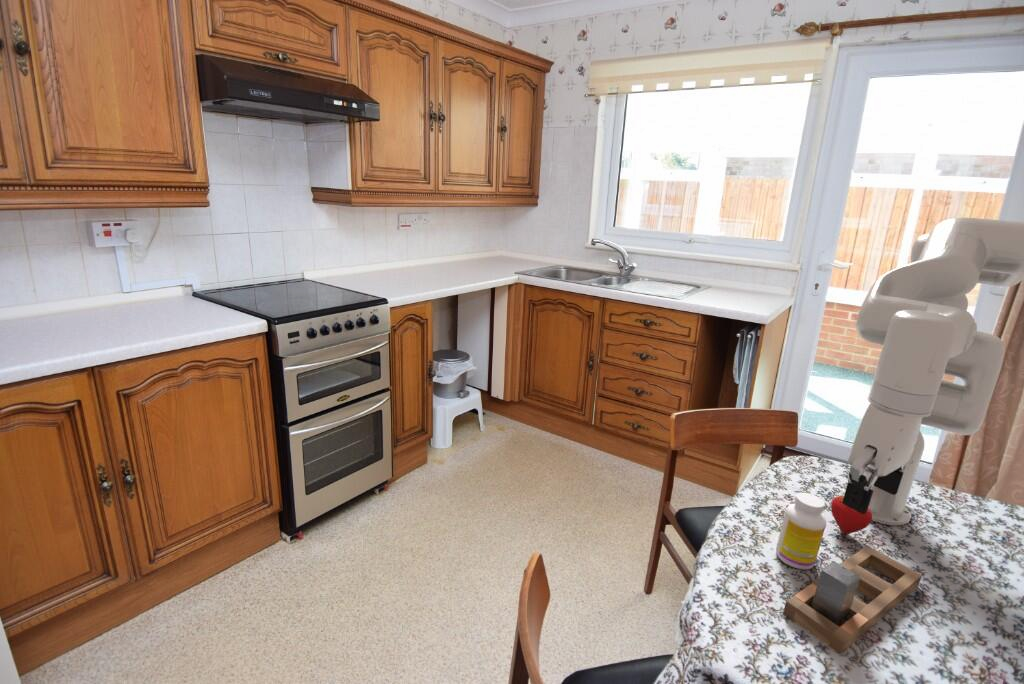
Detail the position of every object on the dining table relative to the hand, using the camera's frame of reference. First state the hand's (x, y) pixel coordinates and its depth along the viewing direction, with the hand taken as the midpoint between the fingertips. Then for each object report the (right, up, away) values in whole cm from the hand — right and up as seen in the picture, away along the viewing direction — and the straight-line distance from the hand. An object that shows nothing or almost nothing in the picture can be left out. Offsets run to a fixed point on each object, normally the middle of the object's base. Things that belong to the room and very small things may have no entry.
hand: (869, 499), depth 82 cm
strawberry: (+13, -15, +27) cm, 34 cm away
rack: (+3, -20, +9) cm, 22 cm away
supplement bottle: (-2, -17, +19) cm, 25 cm away
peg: (-4, -21, +4) cm, 22 cm away
